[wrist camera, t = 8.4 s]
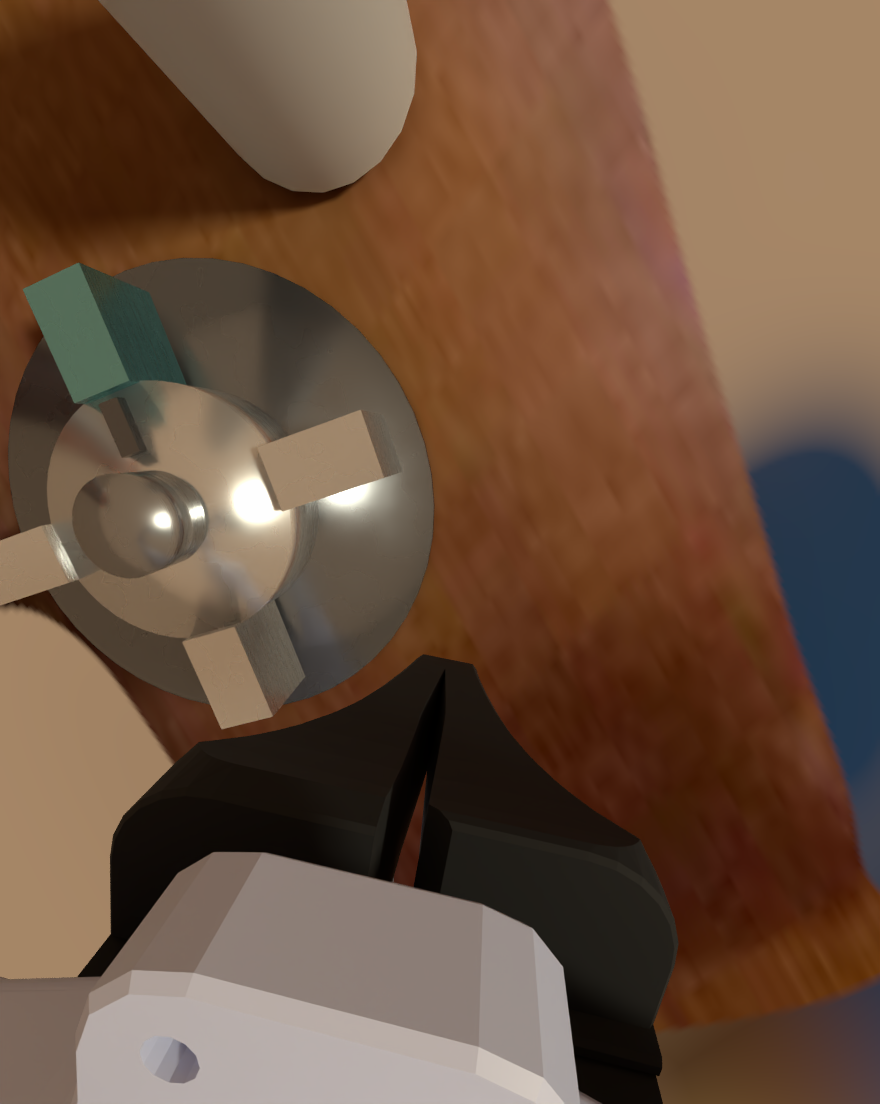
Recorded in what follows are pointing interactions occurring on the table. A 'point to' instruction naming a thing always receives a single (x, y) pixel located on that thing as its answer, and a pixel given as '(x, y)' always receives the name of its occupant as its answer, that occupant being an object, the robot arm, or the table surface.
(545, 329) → the table surface
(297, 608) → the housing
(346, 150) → the can
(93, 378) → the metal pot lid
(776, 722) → the table surface
